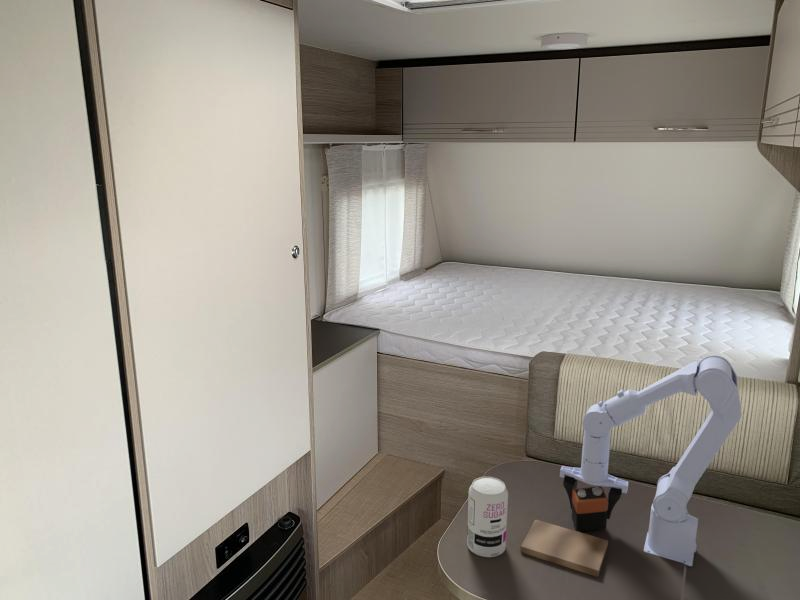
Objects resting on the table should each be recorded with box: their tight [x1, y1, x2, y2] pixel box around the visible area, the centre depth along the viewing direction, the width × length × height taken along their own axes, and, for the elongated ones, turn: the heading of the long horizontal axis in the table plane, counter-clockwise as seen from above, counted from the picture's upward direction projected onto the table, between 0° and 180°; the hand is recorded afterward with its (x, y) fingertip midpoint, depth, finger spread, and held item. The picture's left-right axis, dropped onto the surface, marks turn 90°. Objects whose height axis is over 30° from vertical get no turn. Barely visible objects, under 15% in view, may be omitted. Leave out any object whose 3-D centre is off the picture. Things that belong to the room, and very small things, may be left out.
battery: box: [571, 486, 608, 533], centre depth 132 cm, size 4×7×10 cm, turn 92°
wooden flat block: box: [520, 519, 609, 578], centre depth 127 cm, size 16×11×2 cm
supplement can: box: [466, 476, 509, 558], centre depth 126 cm, size 8×8×15 cm
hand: (590, 511), depth 134 cm, fingers open, 7 cm apart
